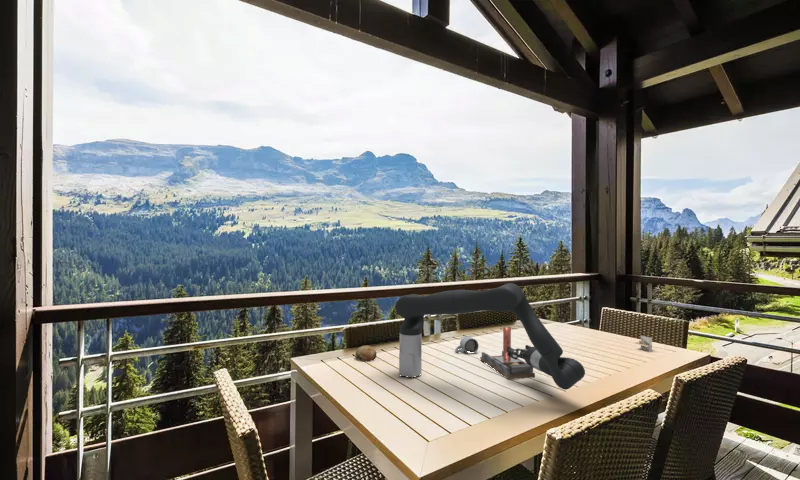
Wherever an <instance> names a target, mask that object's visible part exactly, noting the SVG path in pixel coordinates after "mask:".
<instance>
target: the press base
mask: <svg viewBox="0 0 800 480" xmlns="http://www.w3.org/2000/svg"><path fill="white" fill-rule="evenodd" d="M494 357H503V350H502V351H501V354H500V355H489V354H488V353H486V352H485V351H483V352H481V356H480V359H481V360H482V361H484V362H485V363H487V364H488V365H490V366H491V367H492V368H494V369H495V370H496V371H495V370H494V369H493V370H494V371H495V372H497V371H498V372H499V373H500V374H499V373H498V372H497V373H498V374H499V375H501V374H502V375H503V376H502V375H501V376H502V377H504V376H505V377H506V378H505V377H504V378H505V379H507V380H508V379H509V380H515V379H514V378H521V379H526V378H525V377H532V378H535V377H536V373H535V372H534V368H533V367H531V366H530V365H528V364H527V363H526V361H525V360H523V359H521V358H517V360H519V361H521V364H519V363H517V362H513V363H512V364H511V365H508V367H507V366H505V365H504V364H502V363H501V362H499V361H497V360H496V359H494ZM481 360H480V361H481ZM482 361H481V362H482ZM484 362H483V363H484ZM485 363H484V364H485ZM488 365H487V366H488ZM491 367H490V368H491ZM492 368H491V369H492Z"/></svg>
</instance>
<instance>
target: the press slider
mask: <svg viewBox="0 0 800 480" xmlns="http://www.w3.org/2000/svg"><path fill="white" fill-rule="evenodd" d="M502 329H503V331H502V337H503V338H502V339H503V340H502V341H503V342H502V348H503V349H502V351H503V357H494V359H496V360H497V361H499V362H501V363H502V364H504V365H505V366H507V367H508V365H511V364H512V363H513V362H517V363H519V364H521V361H519V360H515V359H513V358H511V357H509V356H507V347H508V346H509V347H511V348H512V332H511V331H512V328H511V327H510V326H503V327H502Z"/></svg>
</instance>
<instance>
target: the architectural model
mask: <svg viewBox="0 0 800 480" xmlns="http://www.w3.org/2000/svg"><path fill="white" fill-rule="evenodd" d="M652 339H653V338H652V337H649V336H645V335H640V339H639V341H638V342H634V344H635V345H638V346H640V350H643V351H645V352H649V353H652V352H653V342H652V341H653V340H652Z"/></svg>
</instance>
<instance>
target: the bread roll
mask: <svg viewBox="0 0 800 480" xmlns="http://www.w3.org/2000/svg"><path fill="white" fill-rule="evenodd" d="M354 355H355V359H356V360H357V361H358V360H360V361H359V362H366V361H368V362H372V361H371V360H373V361H375V360H376V359H375V358H377V350H376V349H375V348H374V347H372V346H371V345H368V344H367V345H362V346H360V347H358V348H357V349H356V351H355V354H354ZM374 359H375V360H374Z"/></svg>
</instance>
